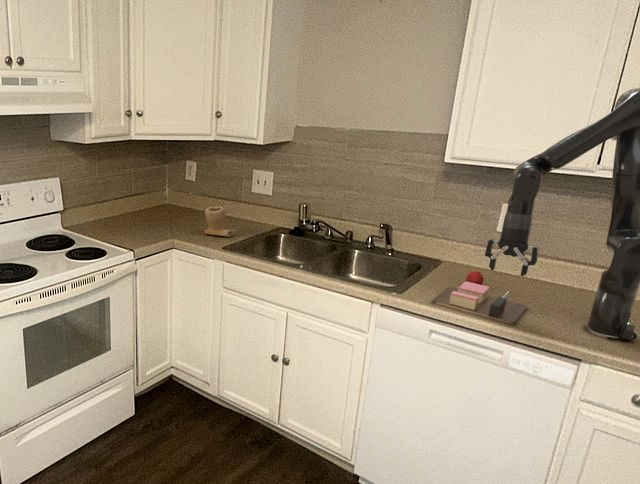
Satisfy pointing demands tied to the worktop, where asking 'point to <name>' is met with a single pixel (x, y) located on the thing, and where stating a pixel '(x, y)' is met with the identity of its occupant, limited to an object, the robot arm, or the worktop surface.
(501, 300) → the knife
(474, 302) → the pink and tan block
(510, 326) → the worktop surface
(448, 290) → the cake board
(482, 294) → the cake
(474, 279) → the onion
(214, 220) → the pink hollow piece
